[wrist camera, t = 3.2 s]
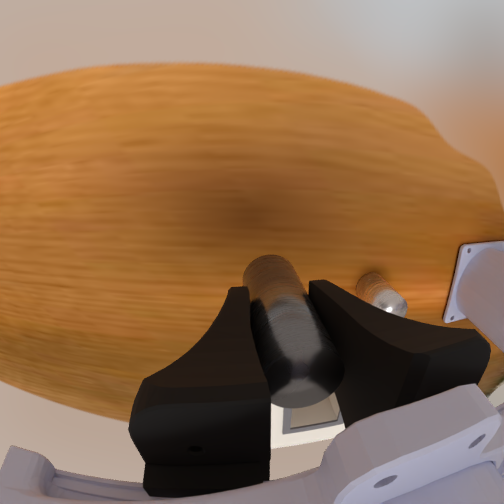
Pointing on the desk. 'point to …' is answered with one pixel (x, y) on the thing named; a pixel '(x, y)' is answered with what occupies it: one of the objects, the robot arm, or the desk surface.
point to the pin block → (306, 423)
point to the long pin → (290, 336)
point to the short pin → (380, 294)
